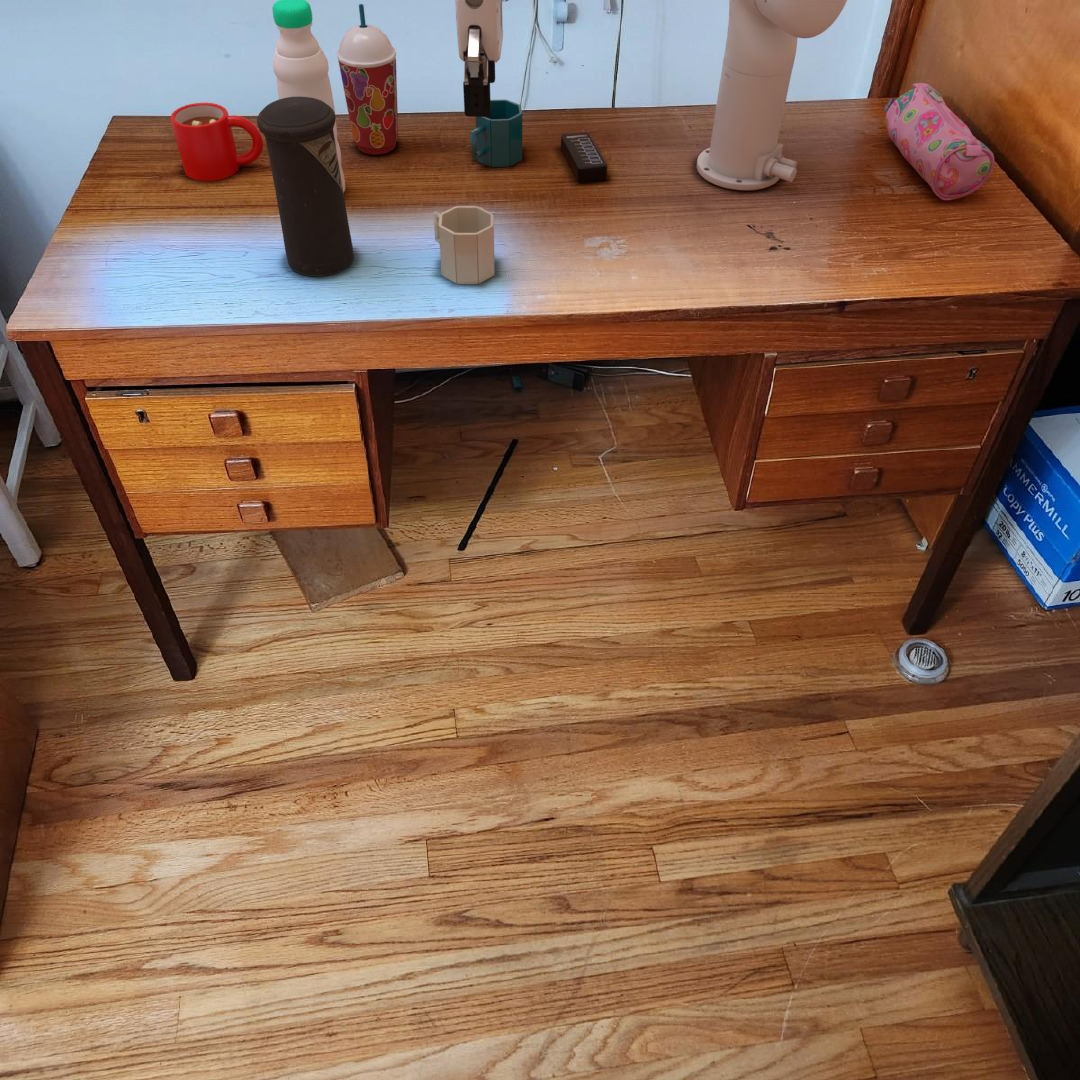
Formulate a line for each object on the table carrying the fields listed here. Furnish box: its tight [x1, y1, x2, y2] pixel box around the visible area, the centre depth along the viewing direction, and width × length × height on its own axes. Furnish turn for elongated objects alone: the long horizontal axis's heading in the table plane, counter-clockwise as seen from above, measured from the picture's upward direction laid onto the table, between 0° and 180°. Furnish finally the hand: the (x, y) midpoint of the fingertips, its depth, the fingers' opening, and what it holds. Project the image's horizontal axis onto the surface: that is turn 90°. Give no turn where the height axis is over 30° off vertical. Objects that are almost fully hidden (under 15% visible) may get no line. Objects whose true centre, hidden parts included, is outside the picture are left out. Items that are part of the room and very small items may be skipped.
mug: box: [170, 102, 264, 182], centre depth 138 cm, size 8×12×8 cm, turn 97°
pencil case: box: [883, 82, 995, 201], centre depth 141 cm, size 21×9×9 cm, turn 5°
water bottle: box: [272, 0, 346, 193], centre depth 127 cm, size 7×7×25 cm
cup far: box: [469, 99, 523, 168], centre depth 142 cm, size 9×7×7 cm
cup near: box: [432, 205, 496, 285], centre depth 122 cm, size 9×7×7 cm
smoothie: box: [336, 3, 399, 156], centre depth 139 cm, size 8×8×20 cm
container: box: [256, 97, 355, 277], centre depth 118 cm, size 9×9×20 cm
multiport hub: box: [560, 131, 608, 184], centre depth 143 cm, size 4×11×2 cm, turn 13°
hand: (480, 98), depth 121 cm, fingers open, 9 cm apart
